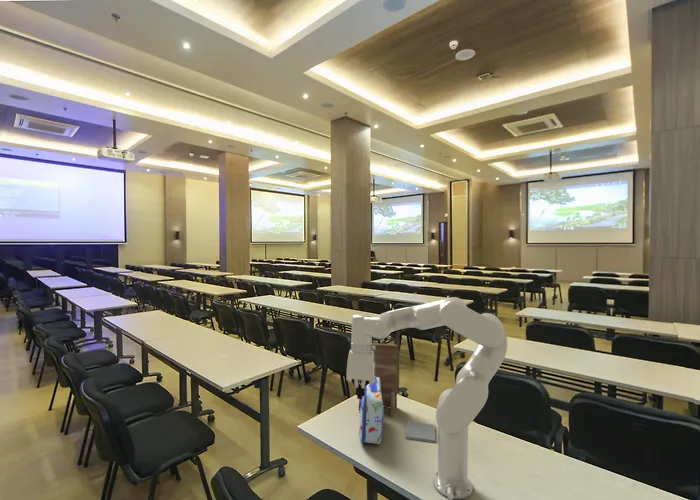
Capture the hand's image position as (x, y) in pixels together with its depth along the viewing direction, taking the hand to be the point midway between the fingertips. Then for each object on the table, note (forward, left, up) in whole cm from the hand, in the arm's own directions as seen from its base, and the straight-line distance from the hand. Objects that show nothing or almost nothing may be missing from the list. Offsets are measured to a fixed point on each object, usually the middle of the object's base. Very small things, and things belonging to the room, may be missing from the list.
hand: (360, 397), depth 122 cm
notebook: (+26, -21, -25) cm, 42 cm away
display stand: (+42, 0, -24) cm, 48 cm away
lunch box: (+22, 0, -25) cm, 33 cm away
